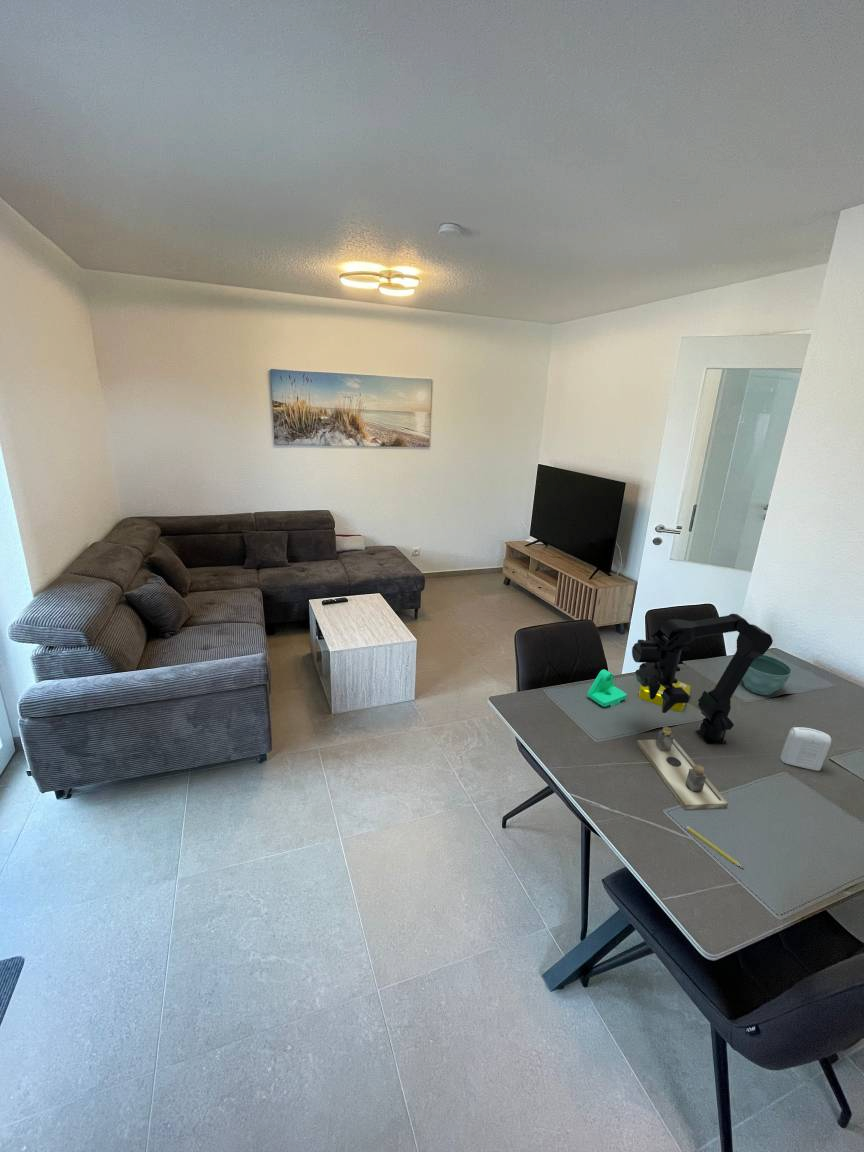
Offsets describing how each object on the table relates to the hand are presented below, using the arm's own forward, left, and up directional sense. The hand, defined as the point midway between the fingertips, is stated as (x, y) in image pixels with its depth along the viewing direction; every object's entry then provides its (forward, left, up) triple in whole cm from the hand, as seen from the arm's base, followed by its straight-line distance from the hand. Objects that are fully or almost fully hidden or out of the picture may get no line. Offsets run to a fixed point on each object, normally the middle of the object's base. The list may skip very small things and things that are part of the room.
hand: (657, 705), depth 155 cm
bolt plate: (0, +16, -12) cm, 20 cm away
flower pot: (-57, -26, -12) cm, 64 cm away
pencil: (+6, +41, -12) cm, 43 cm away
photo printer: (-40, +14, -12) cm, 44 cm away
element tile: (-17, -23, -13) cm, 31 cm away
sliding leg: (0, +7, -10) cm, 12 cm away
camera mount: (+5, -21, -12) cm, 25 cm away
